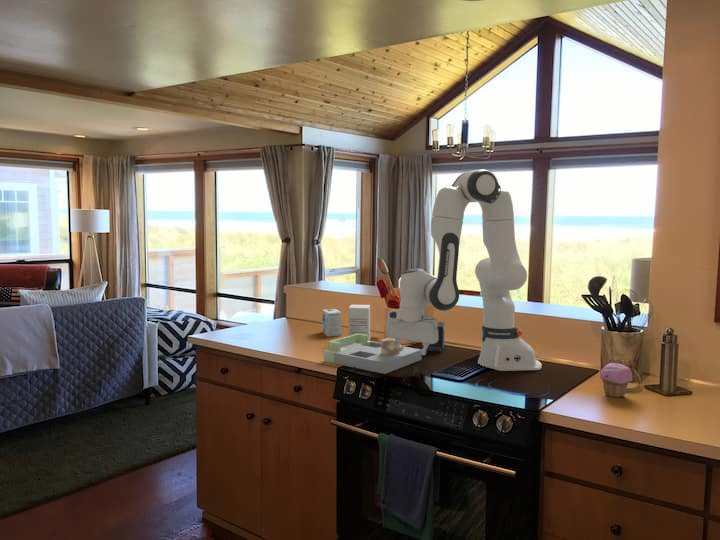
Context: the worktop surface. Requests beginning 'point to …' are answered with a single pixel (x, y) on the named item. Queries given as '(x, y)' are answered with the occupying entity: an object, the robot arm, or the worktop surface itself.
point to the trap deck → (368, 354)
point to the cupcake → (615, 379)
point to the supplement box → (359, 320)
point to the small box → (440, 343)
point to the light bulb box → (331, 322)
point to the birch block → (389, 347)
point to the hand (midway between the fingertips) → (411, 352)
